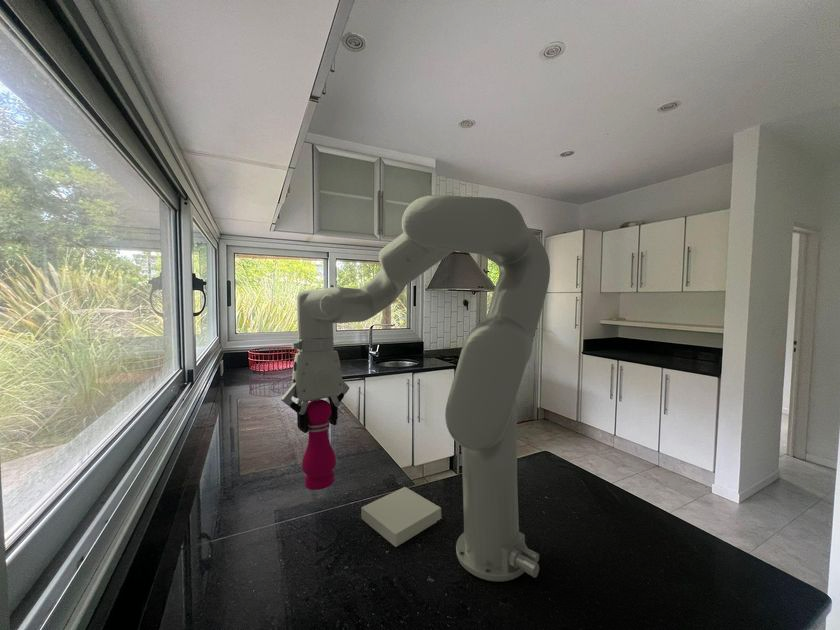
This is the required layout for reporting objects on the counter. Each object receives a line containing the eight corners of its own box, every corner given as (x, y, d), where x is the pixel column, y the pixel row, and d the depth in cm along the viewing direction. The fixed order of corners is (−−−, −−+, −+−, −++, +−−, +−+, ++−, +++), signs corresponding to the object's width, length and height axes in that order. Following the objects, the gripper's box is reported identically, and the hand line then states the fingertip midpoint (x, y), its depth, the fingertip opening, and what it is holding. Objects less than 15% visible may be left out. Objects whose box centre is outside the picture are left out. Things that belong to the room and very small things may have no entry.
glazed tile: (405, 498, 78) (441, 521, 69) (361, 520, 70) (395, 549, 61) (405, 486, 78) (441, 507, 69) (361, 507, 70) (395, 534, 61)
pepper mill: (295, 487, 72) (292, 395, 72) (319, 472, 78) (317, 388, 78) (320, 494, 69) (317, 398, 68) (343, 478, 75) (340, 390, 75)
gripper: (282, 350, 65) (285, 442, 65) (358, 343, 76) (361, 421, 76) (269, 348, 70) (272, 433, 70) (342, 342, 82) (344, 415, 82)
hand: (318, 426), depth 73 cm, fingers closed on pepper mill, 6 cm apart
